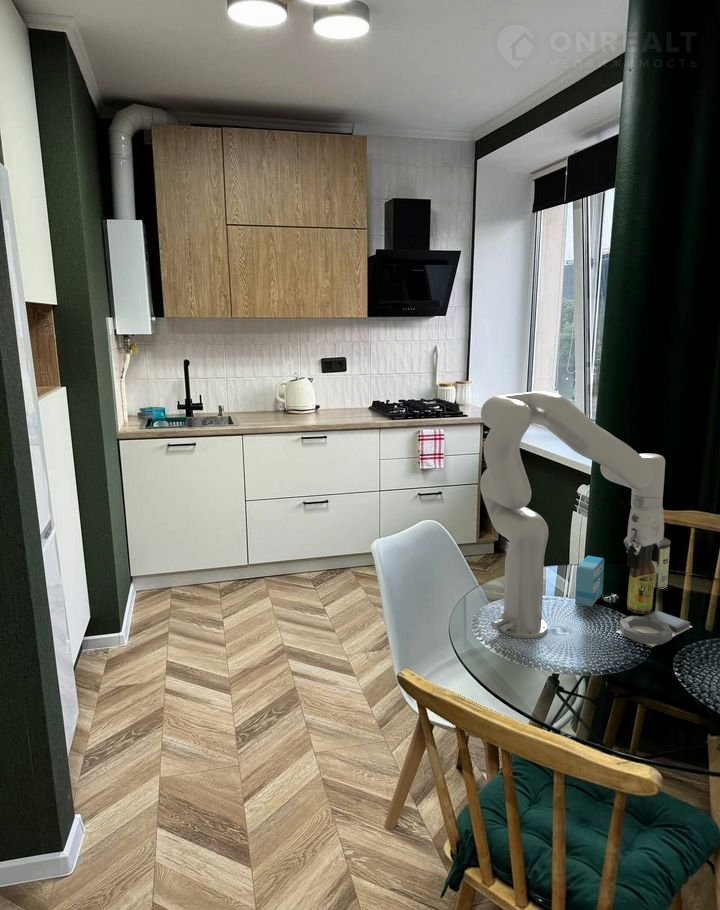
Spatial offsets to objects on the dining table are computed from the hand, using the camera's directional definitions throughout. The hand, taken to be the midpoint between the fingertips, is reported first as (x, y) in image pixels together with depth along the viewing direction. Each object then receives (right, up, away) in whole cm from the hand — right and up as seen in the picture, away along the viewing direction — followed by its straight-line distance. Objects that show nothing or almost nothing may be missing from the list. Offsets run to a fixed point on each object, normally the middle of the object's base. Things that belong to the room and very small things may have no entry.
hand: (642, 563), depth 172 cm
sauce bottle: (0, -14, +3) cm, 14 cm away
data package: (-11, -13, +11) cm, 20 cm away
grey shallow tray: (-1, -16, -9) cm, 19 cm away
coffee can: (+12, -10, +22) cm, 27 cm away
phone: (+3, -14, -6) cm, 16 cm away
